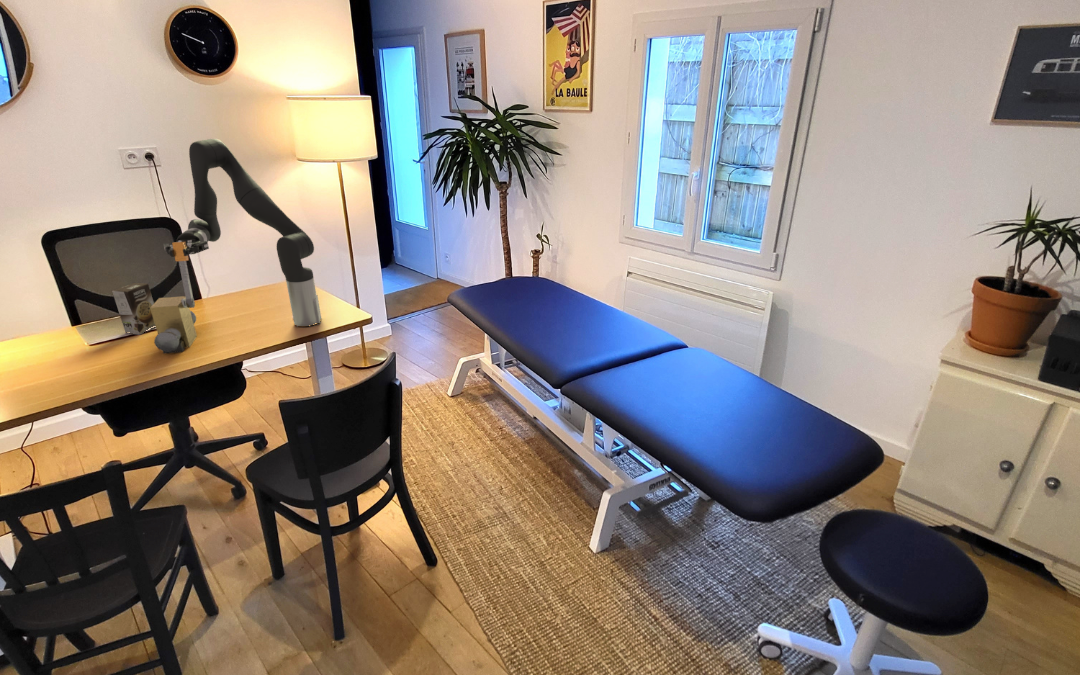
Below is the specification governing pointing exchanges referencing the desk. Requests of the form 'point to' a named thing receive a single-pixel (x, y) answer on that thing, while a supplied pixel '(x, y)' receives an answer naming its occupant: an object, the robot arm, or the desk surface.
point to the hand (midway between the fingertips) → (178, 253)
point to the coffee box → (135, 307)
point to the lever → (184, 272)
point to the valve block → (173, 324)
